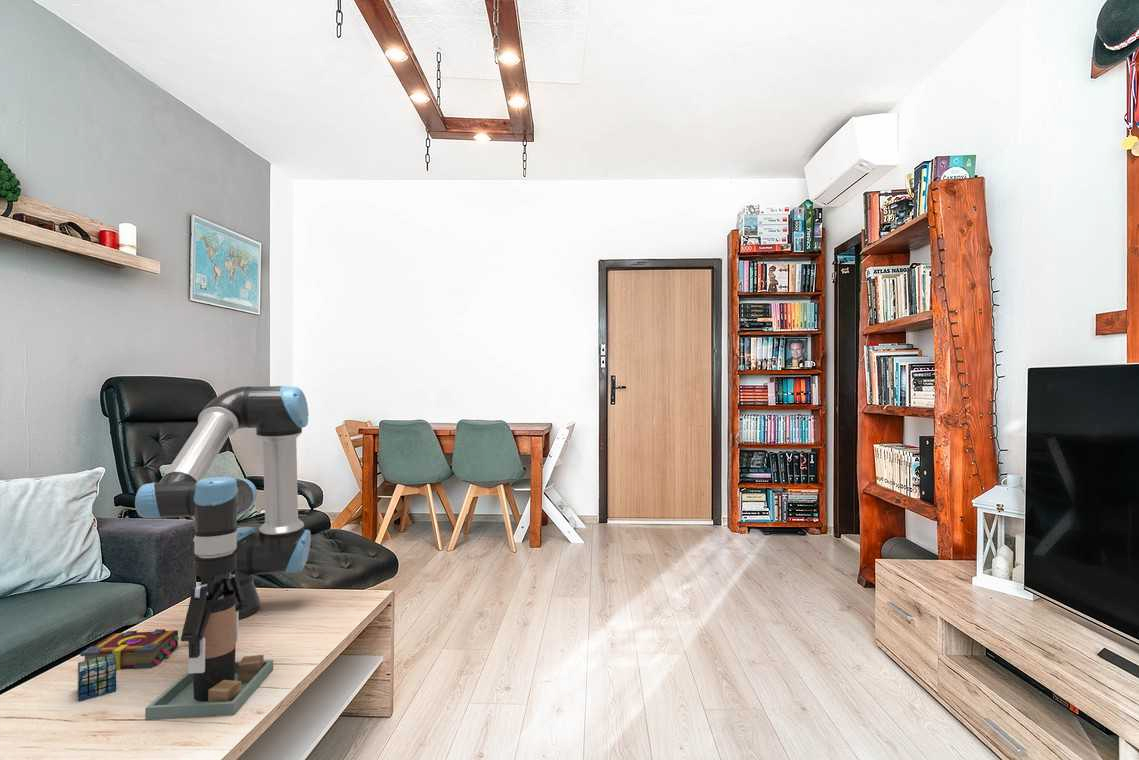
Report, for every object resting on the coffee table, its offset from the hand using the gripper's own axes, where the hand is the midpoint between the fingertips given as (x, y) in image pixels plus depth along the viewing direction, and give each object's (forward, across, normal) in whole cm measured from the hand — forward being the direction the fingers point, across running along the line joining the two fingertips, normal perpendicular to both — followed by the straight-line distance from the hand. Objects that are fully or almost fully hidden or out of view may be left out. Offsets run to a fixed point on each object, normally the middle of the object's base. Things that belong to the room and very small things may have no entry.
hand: (214, 656), depth 119 cm
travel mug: (+8, 0, 0) cm, 8 cm away
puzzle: (+8, -5, -26) cm, 28 cm away
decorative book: (+9, -20, -28) cm, 35 cm away
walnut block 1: (+7, +6, +5) cm, 10 cm away
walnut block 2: (+7, -6, +5) cm, 10 cm away
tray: (+8, 0, 0) cm, 8 cm away
